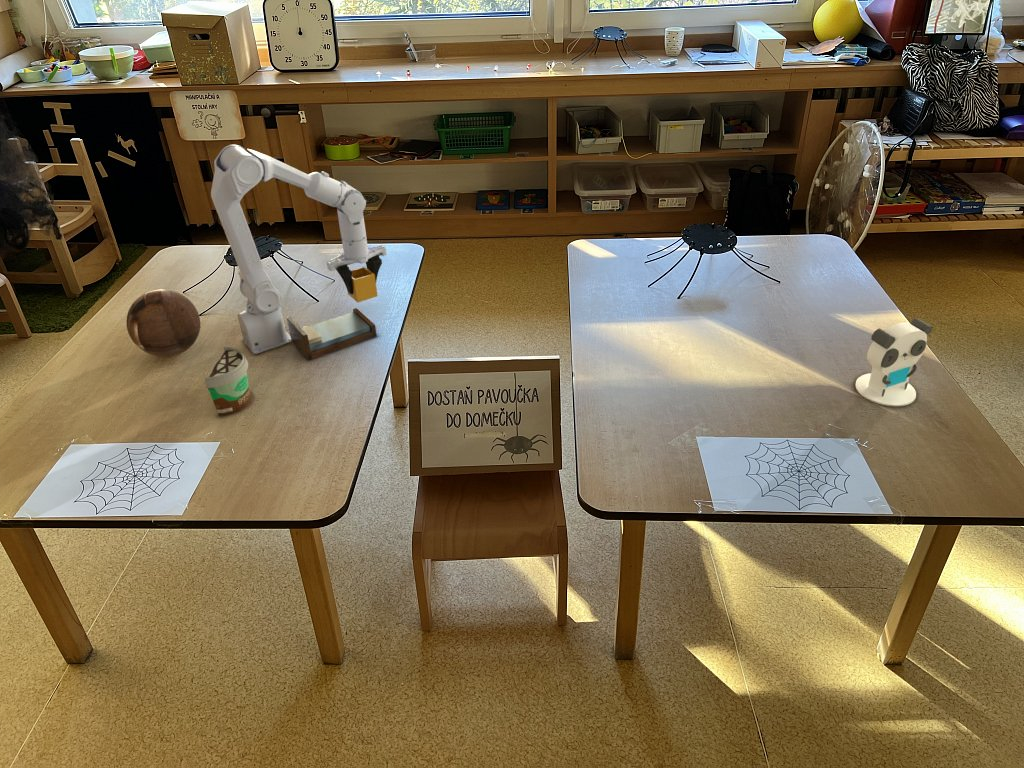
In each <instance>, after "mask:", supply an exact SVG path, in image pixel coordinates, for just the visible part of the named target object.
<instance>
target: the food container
mask: <svg viewBox="0 0 1024 768" xmlns="http://www.w3.org/2000/svg"><path fill="white" fill-rule="evenodd" d="M223 351H224V352H223V353H222V355H221V357H220V358H219V359H218V360H217V362H216V363H215V364H214V366H213V369H212V371H211V373H210V375H209V376H208V377H204V384H205V388H206V389H208V392H209V395H210V398H211V401H212V402H213V403H212V404H213V405H214V407H215V410H216V413H217V415H218V417H225V416H229V415H234V414H236V413H238V412H240V411H243V409H245V408H246V407H247V406H249V405H250V403H251V400H252V396H251V395H252V394H251V390H250V385H249V379H248V373H247V371H248V369H249V362H248V360H247V358H246V356H245V354H243V352H242V351H241V350H239V349H238V348H235V347H231V346H223Z"/></svg>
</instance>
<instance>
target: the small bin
mask: <svg viewBox="0 0 1024 768" xmlns="http://www.w3.org/2000/svg"><path fill="white" fill-rule="evenodd" d="M350 270H351V271H352V284H353V293H354V294H350V293H349V292H348V291H347V295H348V296H349V297H350V298H352V299H353V300H354V301H355V302H356V303H361V302H364V301H367V300H370V299H373V298H377V297H379V296H378V290H377V289H378V288H377V280H376V281H375V274H374V273H373V272H371V271H370V270H369V269H368V268H367V266H365V265H364V266H361V267H358V268H354V269H350Z"/></svg>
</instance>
